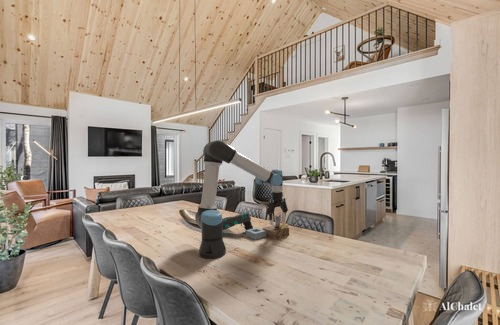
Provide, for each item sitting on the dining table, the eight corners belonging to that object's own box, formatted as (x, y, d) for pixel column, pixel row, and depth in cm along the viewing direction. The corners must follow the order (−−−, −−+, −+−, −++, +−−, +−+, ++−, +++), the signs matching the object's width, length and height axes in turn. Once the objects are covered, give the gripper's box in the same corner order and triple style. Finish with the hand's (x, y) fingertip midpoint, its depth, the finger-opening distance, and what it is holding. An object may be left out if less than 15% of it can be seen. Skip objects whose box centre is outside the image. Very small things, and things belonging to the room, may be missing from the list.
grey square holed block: (255, 239, 159) (255, 233, 159) (245, 236, 167) (245, 230, 167) (266, 236, 165) (266, 230, 165) (257, 233, 173) (256, 227, 173)
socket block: (274, 239, 159) (274, 231, 159) (262, 235, 168) (262, 227, 168) (289, 235, 168) (289, 227, 168) (276, 231, 177) (276, 224, 177)
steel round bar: (277, 235, 167) (277, 216, 167) (274, 234, 169) (274, 215, 169) (281, 234, 169) (281, 216, 169) (277, 233, 172) (277, 215, 171)
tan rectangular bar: (281, 229, 163) (280, 225, 163) (278, 228, 164) (278, 225, 164) (288, 227, 167) (288, 224, 167) (286, 226, 169) (285, 223, 169)
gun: (254, 231, 172) (247, 211, 173) (215, 243, 174) (208, 224, 174) (254, 228, 179) (248, 209, 179) (217, 240, 181) (210, 221, 181)
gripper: (268, 193, 159) (269, 227, 159) (292, 190, 173) (293, 221, 173) (261, 192, 164) (261, 224, 165) (285, 189, 179) (285, 219, 179)
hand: (277, 222), depth 169 cm, fingers open, 11 cm apart
